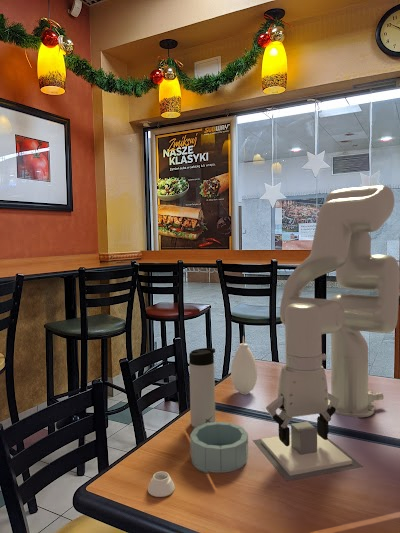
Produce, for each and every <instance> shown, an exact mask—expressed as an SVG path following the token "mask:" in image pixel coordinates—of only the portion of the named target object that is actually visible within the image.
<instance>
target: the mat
mask: <svg viewBox="0 0 400 533" xmlns="http://www.w3.org/2000/svg"><path fill="white" fill-rule="evenodd" d="M269 438H271V437H269ZM261 439H262V438H259V439H252V442H253V443H254V444H255V446H257V448H258V449H259V450H260V452H261V453H262V454H263V455H264V456H265V457H266V459H267V460H268V461H269V462H270V464H271V465H273V467H274V468H275V469H276V471H277V472H278V473H279V474H280V475H281V477H282V478H283V479H284V480H285V481H286V482H290V481H295V480H300V479H306V478H312V477H316V476H321V475H327V474H333V473H338V472H343V471H348V470H353V469H359V468H363V467H364V466H363V465H362V464H361V463H359V462H358V461H357V460H356V459H354V458H353V457H352V456H351V455H349V453H347V452H346V451H345V450H344V449H342V448H341V447H340V446H338V445H337V444H336V443H335V442H334V441H332V440H331V439H330V438H329V437H328V439H327V440H328V441H329V442H331V443H332V444H333V445H334V446H335V447H337V448H338V449H339V450H340V451H342V452H343V453H344V454H345V455H346V456H348V457H349V458H350V459H351V460H352V464H349V465H344V466H338V467H333V468H328V469H322V470H317V471H312V472H307V473H301V474H296V475H291V476H290V475H289V474H288V473H287V471H286V470H285V469H284V468H283V467H282V466H281V464H280V463H279V462H278V461H277V460H276V459H275V458H274V456H273V455H272V454H271V453H270V452H269V451H268V450H267V448H266V447H265V446H264V445H263V444H262V443H261Z"/></svg>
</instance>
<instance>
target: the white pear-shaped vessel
mask: <svg viewBox="0 0 400 533" xmlns="http://www.w3.org/2000/svg"><path fill="white" fill-rule="evenodd" d="M238 346H239V347H238V348H237V349H236V350H235V353H234V355H233V358H232V362H231V367H230V379H231V382H232V385H233V387H234V389H235V390H236V391H237V392H238V393H240V394H242V395H248V394H249V393H251V391H253V390H254V388H255V386H256V384H257V380H258V367H257V363H256V359H255V356H254V354H253V352H252V350H251V349H250V348H249V344H248V343H245V336H244V335H243V336H242V343H239V345H238Z"/></svg>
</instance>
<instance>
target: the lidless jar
mask: <svg viewBox="0 0 400 533" xmlns="http://www.w3.org/2000/svg"><path fill="white" fill-rule="evenodd" d="M175 486H176V485H175V483H174V480H173V479H172V478H171V476H170V474H169V473H168V472H166V471H157V472H155V473H154V474H153V476H152V477H151V478H150V481H149V483H148V486H147V491H148V493H149V494H150V495H151V496H153V497H157V498H162V497H168V496H169V495H172V493H173V492H174V491H175Z"/></svg>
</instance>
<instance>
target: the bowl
mask: <svg viewBox="0 0 400 533" xmlns="http://www.w3.org/2000/svg"><path fill="white" fill-rule="evenodd" d="M189 439H190V443H189V444H190V447H189V448H190V457H191V463H192V465H193V466H194V468H196V469H197V470H198V471H200V472H202V473H204V474H207V475H209V474H210V473H228V472H233V471H236V470H239V469H241V468H242V467H244V466H245V465H246V464H247V462H248V457H249V433H248V431H246V429H245V428H244V427H243V426H240V425H238V424H236V423H234V422H233V423H232V422H225V421H215V422H212V423H205V424H203V425H200V426H198V427H196V428H193V430H192V432H191V433H190V434H189ZM209 472H210V473H209Z"/></svg>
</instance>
